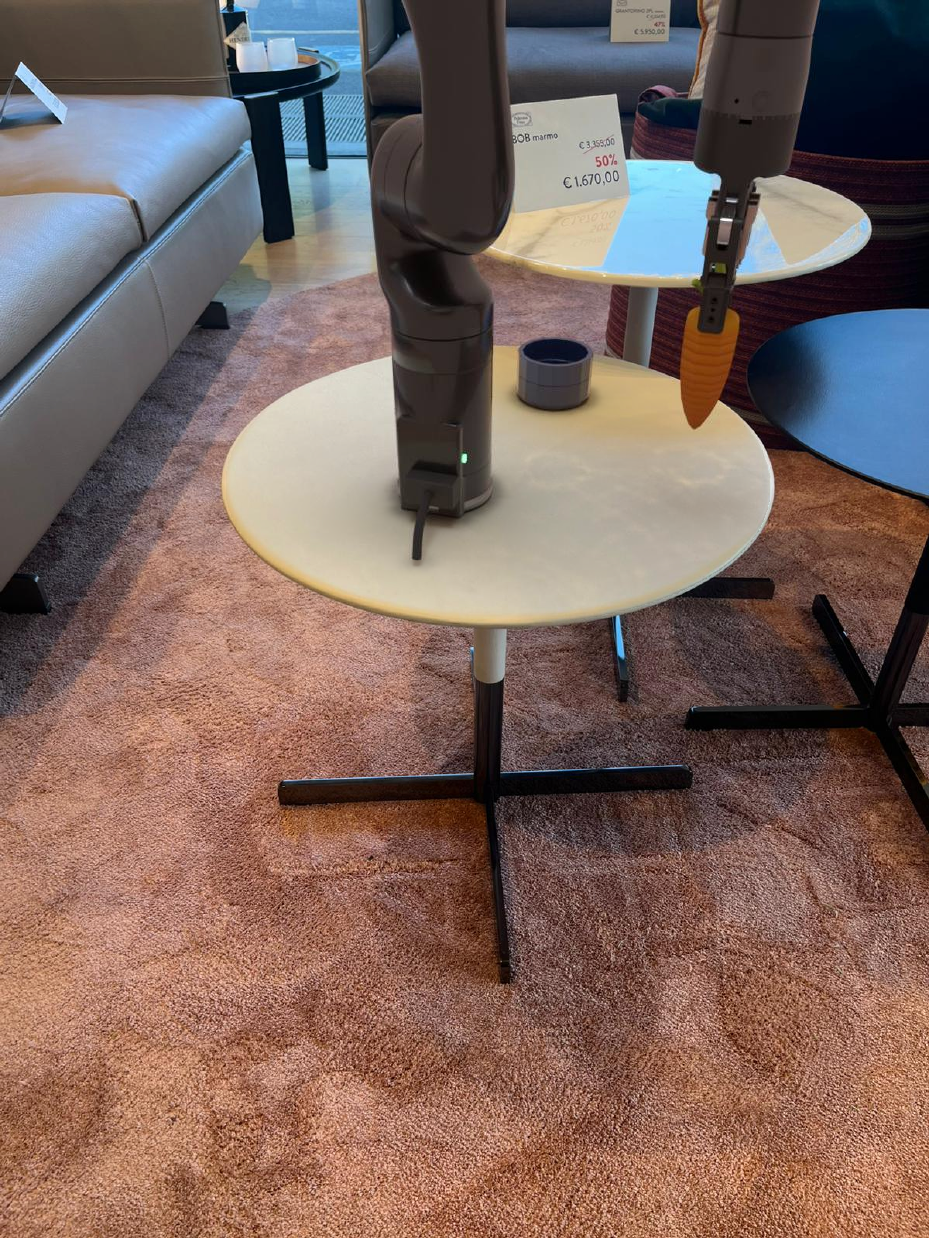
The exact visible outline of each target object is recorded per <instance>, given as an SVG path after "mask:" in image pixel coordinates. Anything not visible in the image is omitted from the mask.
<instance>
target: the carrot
mask: <svg viewBox="0 0 929 1238" xmlns="http://www.w3.org/2000/svg"><path fill="white" fill-rule="evenodd" d="M714 268H715V272H718V273H726V267H725V264H720V263H716V264H715V267H714ZM734 279H735V282H736V281H737V279H738V278H737V275H736V276H735V277H734ZM691 286H693V287H694V288H695V289H697V290H698V291H699V292H700V294H701V295H702V294H703V288H702V287H701V282H700V279H698V278H694V279H693V280H692V281H691ZM732 289H733V290H734V288H733V287H732ZM730 293H731V292H730ZM699 312H700V306H696V307H694V308H692V309H691V310H690V311H688V314H687V317H686V321H685V326H684V332H683V339H682V349H681V355H680V366H679V372H680V374H679V377H680V379H679V381H680V383H679V385H680V399H681V404H682V408H683V409H682V410H683V414H684V416H685V419H686V422H687V425H688V426H689V427H690V428H691V429H692V430H697V429H698V428H700V427H701V426H702V425H703V424H704V423H705V421H706V420H707V419H708V418H709V416H710V415H711V414H712V412H713V410H714V409H715V408H716V405H717V404H718V401H719V399H720V397H721V395H722V393H723V390H724V387H725V385H726V382H727V380H728V377H729V374H730V370H731V366H732V362H733V359H734V354H735V351H736V346H737V341H738V336H739V332H740V315H739V314H738V313H737V312H736V311H735V310H733V309H731V308H729V309H728V308H727V314H726V319H725V324H724V329H723V331H722V333H720V334H710V333H702V332H699V331H698V329H697V324H698V318H699Z"/></svg>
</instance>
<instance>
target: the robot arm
mask: <svg viewBox="0 0 929 1238" xmlns="http://www.w3.org/2000/svg"><path fill="white" fill-rule="evenodd" d="M506 2H507V1H506V0H401V3H402V5H403V8H404V11H405V13H406V17H407V20H408V23H409V26H410V30H411V32H412V37H413V41H414V46H415V49H416V55H417V59H418V68H419V78H420V89H421V91H420V94H421V95H420V96H421V97H420V99H421V113H417V114H415V113H414V114H410V115H406V116H404V117H402V118H400V119H398V120H396V121H395V122H394V123H392V124H391V125H390V126H389V127H388V128H387V129H386V131H384V133H383V135H382V136H381V138H380V140H379V142H378V144H377V146H376V149H375V152H374V155H373V159H372V163H371V167H370V168H371V169H370V180H369V182H370V185H369V186H370V187H369V189H370V190H369V193H370V210H371V220H372V228H373V229H372V230H373V241H374V250H375V258H376V268H377V269H376V270H377V276H378V281H379V285H380V289H381V292H382V294H383V296H384V298H385V301H386V303H387V307H388V312H389V329H390V346H391V365H392V366H391V367H392V385H393V402H394V404H393V405H394V406H393V407H394V423H395V439H396V440H395V442H396V458H397V473H398V474H397V475H398V476H397V477H398V478H397V492H398V496H399V501H400V504H399V505H400V508H402V509H407V510H413V511H417V514H416V518H415V522H414V528H413V536H412V551H411V560H413V561H421V560H422V553H423V538H424V537H423V536H424V529H425V524H426V519H427V516H428V513H431V514H437V515H443V516H448V517H454V518H461V517H462V515H463V514H464V513H465V512H467V511H470V510H473V509H476V508H478V507H480V506H482V505H483V504H484V503H486V502H487V501H488V499H490V497H491V495H492V492H493V476H492V455H493V454H492V449H493V448H492V445H493V444H492V442H493V441H492V439H493V438H492V437H493V383H494V382H493V381H494V380H493V379H494V378H493V375H494V374H493V373H494V328H495V327H494V323H495V321H494V320H495V298H494V292H493V291H492V288H491V286H490V284H489V283H488V282H487V280H486V279H485V278H484V277H483V275H482V274H481V272H480V271H479V269H478V267H477V266H476V264H475V262H474V259H473V257H472V256H474V255H479V254H481V253H483V252H485V251H486V250H487V249H489V248H490V247H491V246H493V245H494V243H495V242H496V241H497V240H498V239H499V237H500V236H501V235H502V233H503V231H504V229H505V227H506V225H507V222H508V220H509V217H510V215H511V212H512V207H513V203H514V198H515V189H516V160H515V158H516V157H515V145H514V144H515V143H514V133H513V120H512V111H511V110H512V109H511V98H510V97H511V96H510V85H509V71H508V59H507V58H508V55H507V54H508V53H507V25H506V24H507V23H506V22H507V20H506V11H507V10H506V9H507V8H506V6H507V3H506ZM820 2H821V0H719V5H718V12H717V17H716V24H715V30H716V31H715V33H714V37H713V42H712V44H711V45H712V46H711V49H710V53H709V56H708V61H707V63H706V64H707V65H706V70H705V76H704V83H703V91H702V97H701V104H700V111H699V116H698V117H699V118H698V124H697V130H696V138H695V144H694V149H693V150H694V151H693V159H692V161H693V165H694V167H696V169H698V170H699V171H701V172H703V173H706V174H709V175H717V176H718V177H719V178H720V185H719V189H714V188H712V190H711V195H710V196H708V199H707V204H706V210H705V218H706V220H707V221H706V222H707V223H706V226H705V233H704V238H703V244H702V250H701V253H702V254H701V255H702V256H703V257H704V259H703V267H702V273H701V275H700V277H699V280H700V282H701V287H702V288H703V294H702V293H701V300H700V305H699V307H700V312H699V318H698V324H697V329H698V331H699V332H702V333H710V334H720V333H722V331H723V329H724V324H725V319H726V314H727V308H728V309H731V304H732V299H733V292H734V288H735V285H736V281H735V279H734V277H735V276H736V277H737V270H739V268H740V266H741V265H742V263H743V260H744V259H745V257H746V252H747V247H748V246H749V244H750V240H751V236H752V230H753V224H754V223H755V222H756V218H757V215H758V211H759V208H760V202H761V196H762V193H761V192H757V188H758V186H756V183H757V181H755V179H757V178H761V179H770V178H775V177H779V176H782V175H784V174H785V173H786V172H787V171H789V169H790V166H791V162H792V157H793V153H794V147H795V143H796V139H797V134H798V128H799V124H800V119H801V118H800V117H801V114H802V108H803V105H804V99H805V94H806V89H807V85H808V80H809V74H810V69H811V68H810V67H811V55H812V44H813V38H814V36H813V35H814V31H815V27H816V22H817V17H818V12H819V7H820ZM716 263H720V264H725V267H726V273H718V272H715V264H716ZM732 287H733V289H732ZM730 292H731V293H730Z"/></svg>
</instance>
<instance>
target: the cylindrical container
mask: <svg viewBox="0 0 929 1238" xmlns="http://www.w3.org/2000/svg"><path fill="white" fill-rule="evenodd" d="M593 363H594V351H593V349H592V347H591V346H590V345H588V344H587V343H585V342H584V341H580V340H577V339H574V338H570V337H563V336H561V337H560V336H543V337H537V338H532V339H530V340H528V341H525V342H523V343H521V344H520V346H519V347H518V349H517V361H516V393H517V395H518V396H519V397H520V399H521V400H522V401H523V402H524V403H525V404H526V405H528V406H531V407H534V408H538V409H543V410H552V411H553V410H554V411H557V410H559V411H560V410H567V409H572V408H576V407H578V406H580V405H581V404H583V403H584V402H585V400H586V399H588V397H589V395H590V394H591V387H592V376H593V375H592V374H593Z"/></svg>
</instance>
